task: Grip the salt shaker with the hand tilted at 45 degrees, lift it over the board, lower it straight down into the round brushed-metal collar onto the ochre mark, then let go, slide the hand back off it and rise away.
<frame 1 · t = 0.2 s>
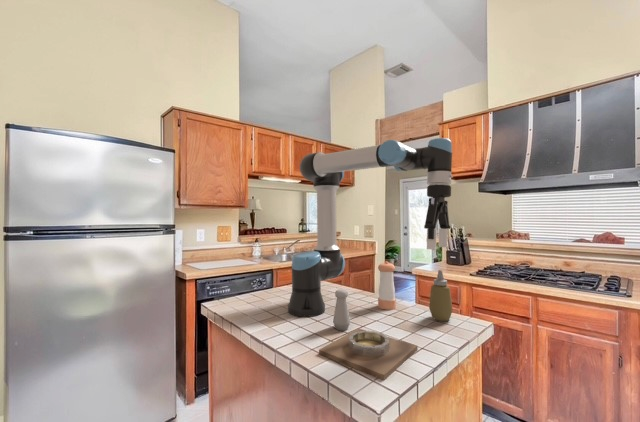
hand: (437, 248, 97), 27 cm above the counter, tool pointing down, fingers open, 13 cm apart
collar board: (368, 351, 81), on the counter
pepper shaker: (386, 307, 122), on the counter
salt shaker: (341, 328, 99), on the counter
squeeze bottle: (440, 319, 107), on the counter
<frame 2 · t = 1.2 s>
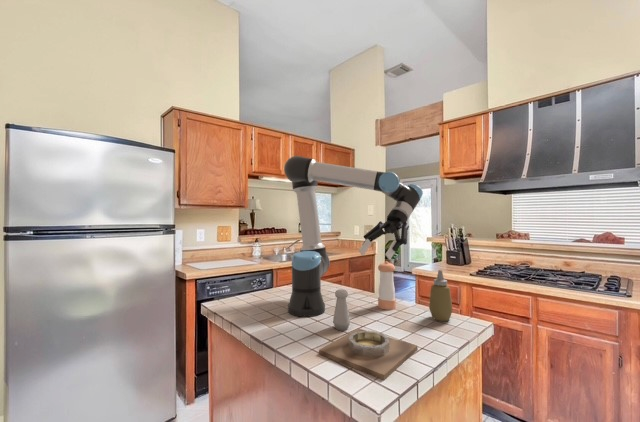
hand: (373, 255, 108), 24 cm above the counter, tool tilted 45°, fingers open, 13 cm apart
nothing on the counter moved.
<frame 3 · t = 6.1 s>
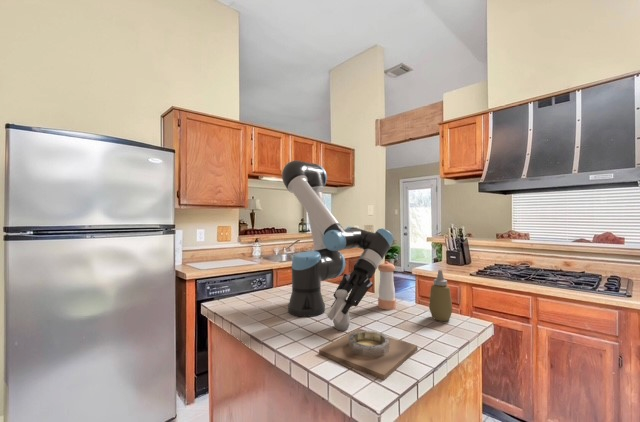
hand: (332, 319, 96), 4 cm above the counter, tool tilted 45°, fingers closed on salt shaker, 3 cm apart
salt shaker: (341, 328, 99), on the counter, touching gripper
everything else where it was.
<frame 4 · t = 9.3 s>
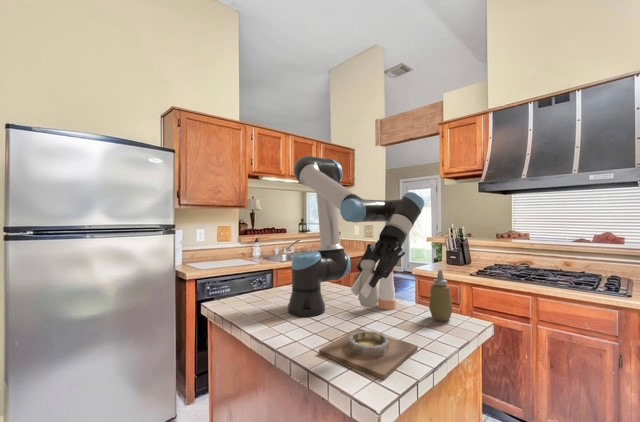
hand: (358, 293, 80), 17 cm above the counter, tool tilted 45°, fingers closed on salt shaker, 3 cm apart
salt shaker: (368, 306, 83), point 12 cm above the counter, touching gripper
everything else where it was.
when the fingers open (6 cm above the counter, at t = 12.2 s): salt shaker stays where it is, resting on collar board.
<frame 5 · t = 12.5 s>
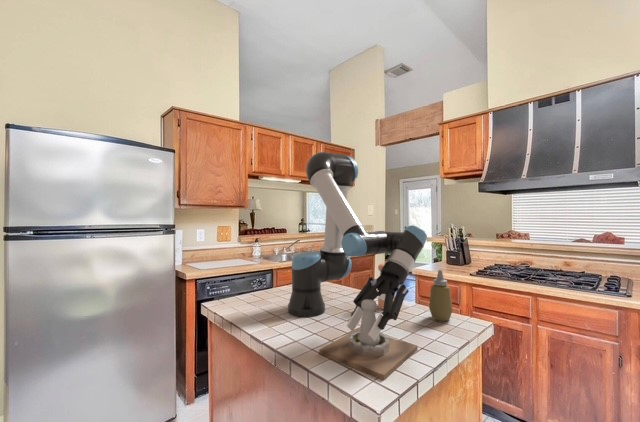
hand: (360, 333, 79), 6 cm above the counter, tool tilted 45°, fingers open, 8 cm apart
salt shaker: (369, 347, 81), point 1 cm above the counter, touching collar board
everything else where it was.
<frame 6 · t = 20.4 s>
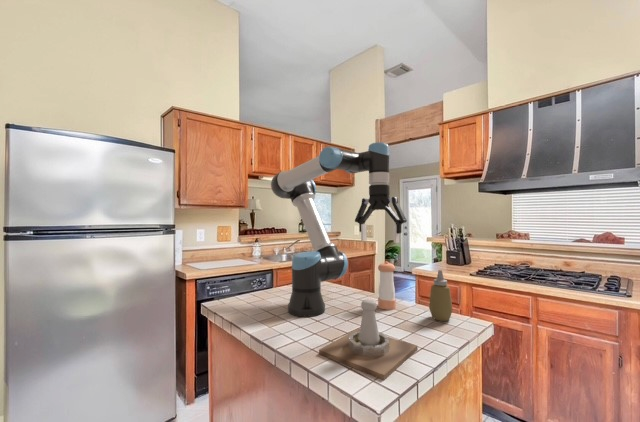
hand: (379, 241, 107), 29 cm above the counter, tool pointing down, fingers open, 13 cm apart
nothing on the counter moved.
at the end: salt shaker 0.1 cm off-centre on the collar board, point 1.2 cm above the collar board's base; salt shaker tilted 0°; the gripper is holding nothing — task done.
